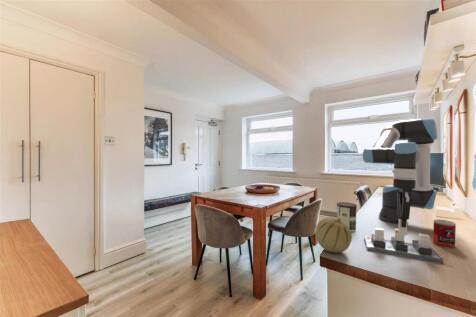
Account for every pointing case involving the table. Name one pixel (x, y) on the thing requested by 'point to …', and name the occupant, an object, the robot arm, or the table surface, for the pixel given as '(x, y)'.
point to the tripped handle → (398, 236)
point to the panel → (410, 249)
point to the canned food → (444, 233)
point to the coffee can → (347, 214)
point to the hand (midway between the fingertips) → (402, 234)
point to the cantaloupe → (333, 235)
